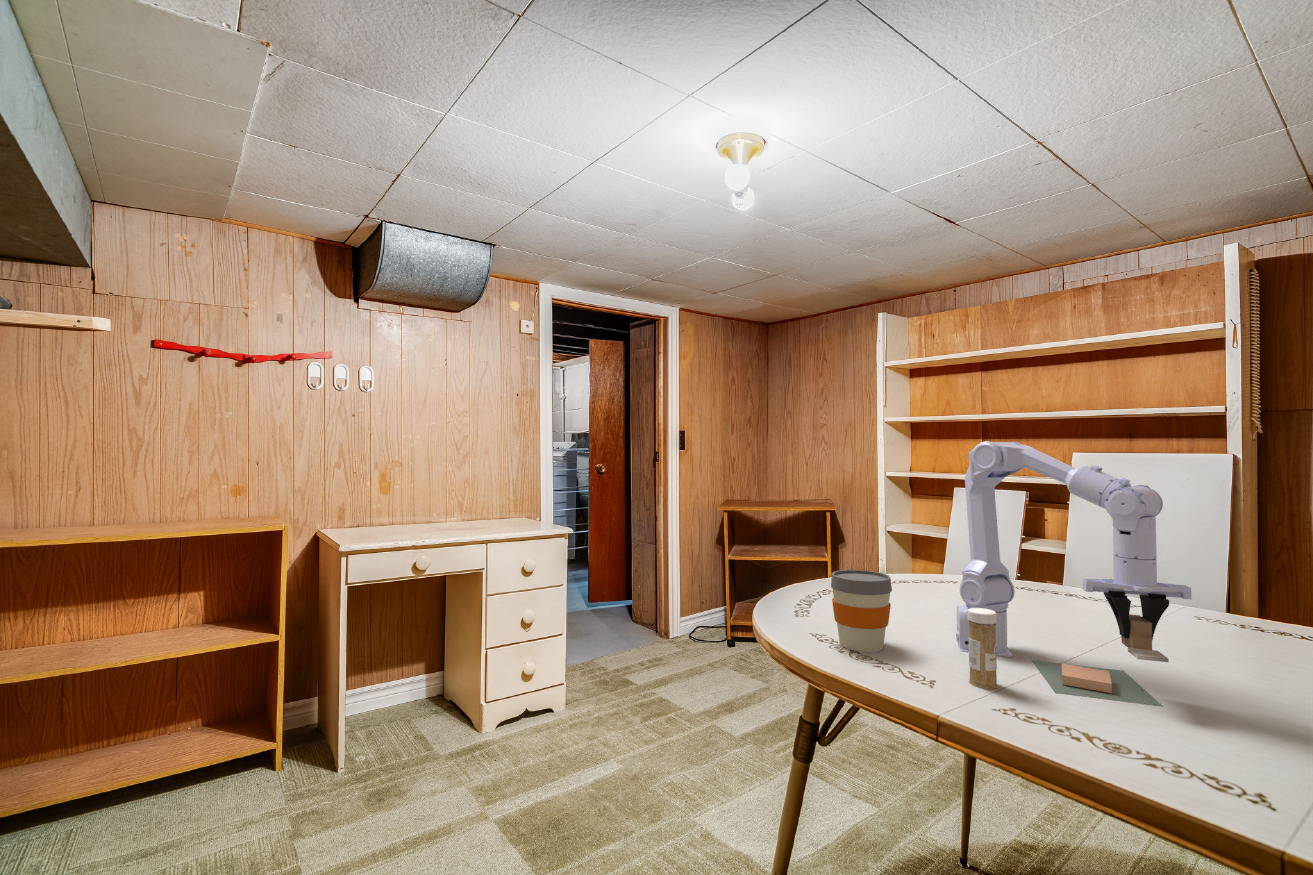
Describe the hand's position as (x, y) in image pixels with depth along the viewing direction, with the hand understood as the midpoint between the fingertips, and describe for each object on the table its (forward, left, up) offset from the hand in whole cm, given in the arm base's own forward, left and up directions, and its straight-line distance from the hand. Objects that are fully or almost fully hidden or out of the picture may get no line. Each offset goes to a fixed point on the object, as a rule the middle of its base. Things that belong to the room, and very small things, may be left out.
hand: (1135, 637), depth 100 cm
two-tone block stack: (0, -2, -2) cm, 3 cm away
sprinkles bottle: (-23, -3, -11) cm, 26 cm away
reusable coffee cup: (-44, +13, -11) cm, 48 cm away
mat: (-5, +5, -10) cm, 13 cm away
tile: (-5, +7, -9) cm, 13 cm away
